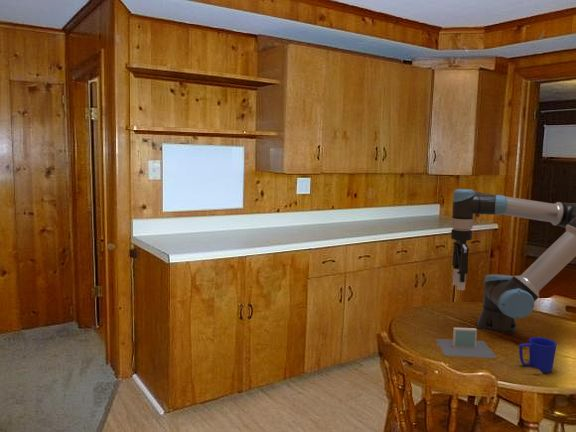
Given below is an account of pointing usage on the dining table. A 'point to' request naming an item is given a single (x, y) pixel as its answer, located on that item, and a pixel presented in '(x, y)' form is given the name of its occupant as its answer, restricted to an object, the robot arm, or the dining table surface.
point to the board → (465, 349)
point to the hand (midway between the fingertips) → (458, 287)
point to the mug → (540, 353)
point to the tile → (464, 337)
